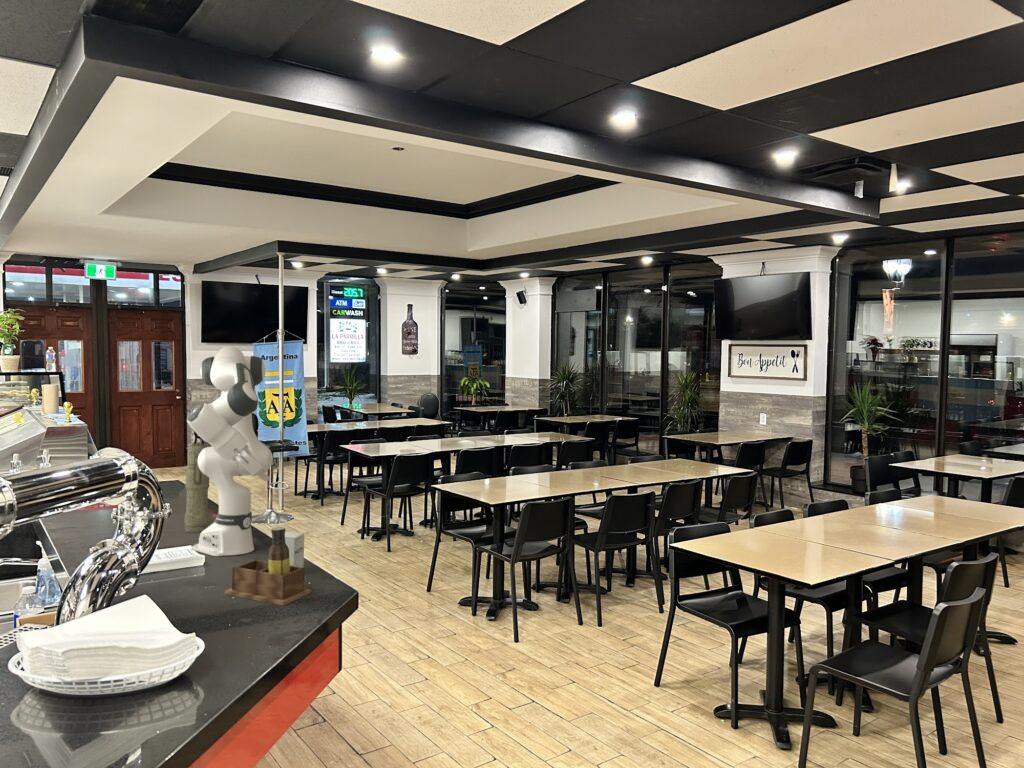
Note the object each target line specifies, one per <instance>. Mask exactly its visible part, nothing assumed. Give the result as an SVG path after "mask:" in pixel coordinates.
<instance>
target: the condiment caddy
mask: <svg viewBox="0 0 1024 768" xmlns="http://www.w3.org/2000/svg"><path fill="white" fill-rule="evenodd" d="M231 577H232V579H231V580H232V582H231V584H232V585H231V588H228V589H225V590H224V594H225V595H229V596H233V597H239V598H243V599H249V600H253V601H258V602H263V603H267V604H268V603H269V604H272V603H273V604H272V605H278V606H281V605H283V606H286V605H289V604H290V603H292V602H295V601H296V600H298V599H302V598H303V597H304V596H307V595H309V594H311V593H312V590H311V589H309V588H305V567H303V568H301V567H296V566H290V573H287V574H285V575H278V574H272V573H269V570H268V560H267V561H266V560H261V559H256V558H255V559H252V560H250V561H247V562H244V563H240V564H238V565H235V566H233V567H232V576H231ZM283 606H282V607H283Z"/></svg>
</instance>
